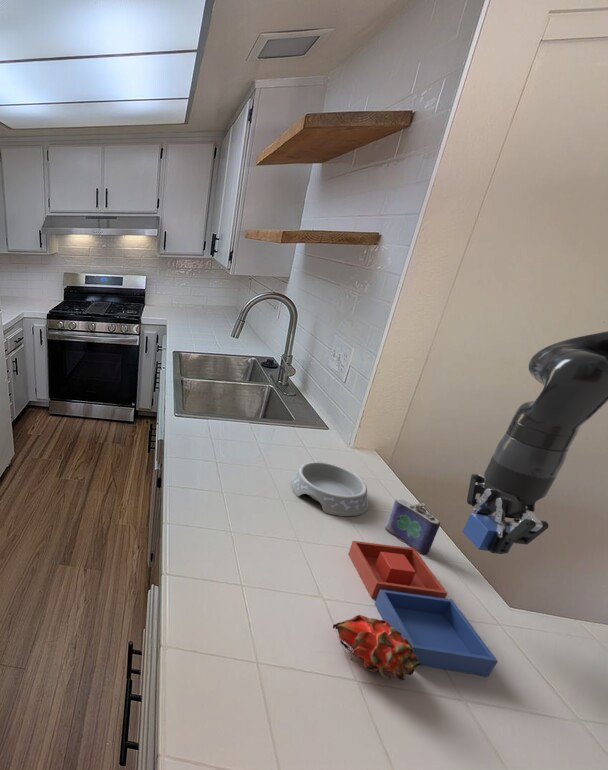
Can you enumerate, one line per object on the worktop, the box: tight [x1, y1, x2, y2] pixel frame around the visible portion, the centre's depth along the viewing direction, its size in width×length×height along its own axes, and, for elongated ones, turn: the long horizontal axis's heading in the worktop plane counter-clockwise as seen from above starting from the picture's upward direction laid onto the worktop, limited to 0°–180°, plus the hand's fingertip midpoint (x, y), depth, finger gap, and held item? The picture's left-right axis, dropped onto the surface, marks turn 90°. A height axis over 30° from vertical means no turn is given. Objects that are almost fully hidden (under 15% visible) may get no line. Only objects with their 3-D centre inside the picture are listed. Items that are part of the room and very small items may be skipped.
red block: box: [375, 552, 416, 586], centre depth 79 cm, size 4×4×4 cm
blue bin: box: [374, 589, 498, 678], centre depth 68 cm, size 12×11×4 cm
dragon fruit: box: [332, 614, 421, 681], centre depth 65 cm, size 8×8×12 cm
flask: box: [384, 498, 441, 556], centre depth 88 cm, size 9×3×11 cm, turn 21°
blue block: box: [461, 512, 514, 554], centre depth 70 cm, size 4×4×4 cm
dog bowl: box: [290, 461, 368, 517], centre depth 105 cm, size 17×18×5 cm
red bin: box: [347, 540, 448, 599], centre depth 80 cm, size 12×11×4 cm
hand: (484, 540), depth 70 cm, fingers closed on blue block, 4 cm apart
